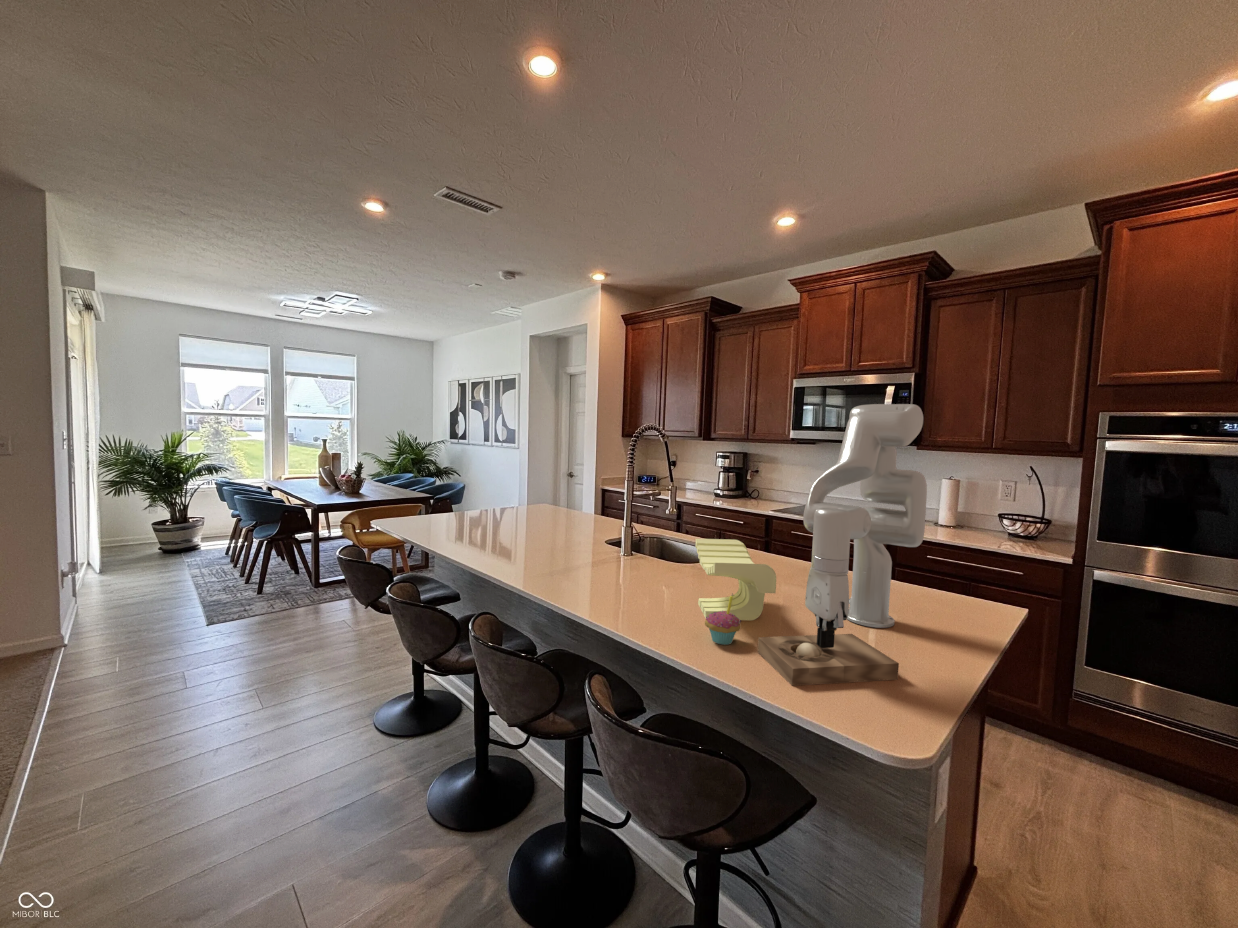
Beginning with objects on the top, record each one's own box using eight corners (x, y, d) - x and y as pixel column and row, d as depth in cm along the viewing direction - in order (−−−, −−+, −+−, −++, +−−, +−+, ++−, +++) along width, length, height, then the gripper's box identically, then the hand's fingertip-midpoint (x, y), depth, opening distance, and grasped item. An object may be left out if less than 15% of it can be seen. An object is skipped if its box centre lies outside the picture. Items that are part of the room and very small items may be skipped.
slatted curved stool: (773, 632, 132) (777, 564, 131) (711, 630, 132) (714, 562, 131) (743, 595, 162) (746, 539, 161) (693, 594, 162) (695, 538, 161)
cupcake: (734, 634, 130) (737, 587, 129) (744, 648, 121) (746, 598, 121) (701, 633, 130) (703, 587, 129) (708, 647, 121) (710, 598, 120)
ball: (788, 649, 116) (806, 645, 117) (798, 671, 113) (816, 667, 114) (798, 641, 112) (817, 637, 113) (809, 664, 109) (828, 660, 111)
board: (850, 647, 124) (851, 633, 124) (897, 679, 108) (898, 663, 108) (757, 651, 120) (758, 637, 119) (792, 685, 104) (792, 668, 104)
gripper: (796, 556, 119) (792, 633, 120) (834, 574, 105) (828, 661, 106) (826, 556, 120) (821, 632, 122) (867, 573, 106) (861, 660, 107)
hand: (825, 646), depth 114 cm, fingers closed
